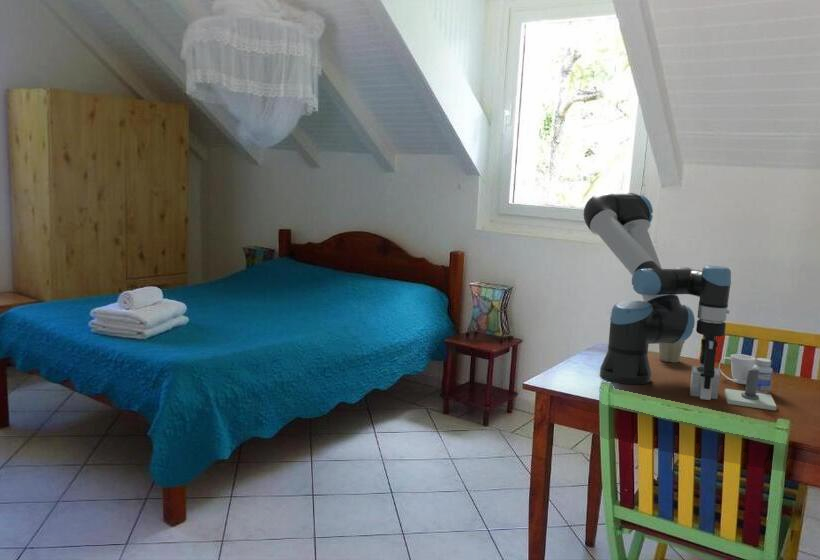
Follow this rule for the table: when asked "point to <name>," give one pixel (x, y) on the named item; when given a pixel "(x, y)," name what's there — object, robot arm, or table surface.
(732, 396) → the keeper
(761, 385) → the pill bottle
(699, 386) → the hollow grey square tube
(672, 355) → the flower pot
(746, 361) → the cup
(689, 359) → the table surface
